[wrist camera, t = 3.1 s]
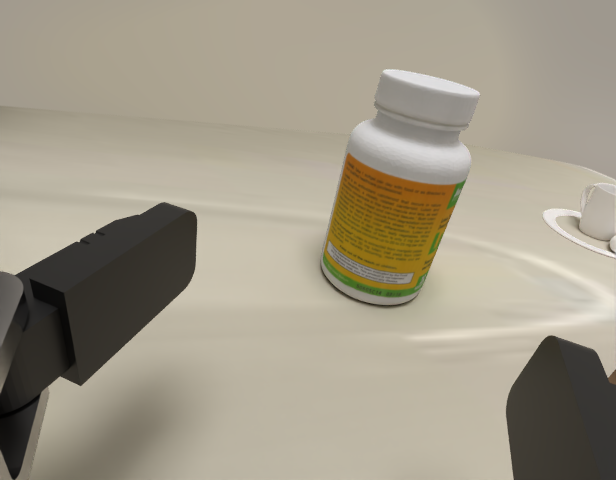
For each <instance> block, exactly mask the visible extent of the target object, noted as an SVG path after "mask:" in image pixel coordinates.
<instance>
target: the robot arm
mask: <svg viewBox="0 0 616 480" xmlns="http://www.w3.org/2000/svg"><path fill="white" fill-rule="evenodd" d="M196 237H197V217H196V215H195V213H194V212H192V211H189V210H186V209H183V208H180V207H177V206H174V205H171V204H169V203H165V202H163V203H160V204H158V205H156V206H154V207H153V208H151V209H149V210H147V211H146V212H144V213H142V214H140V215H134V216H130V217H127V218H123V219H119V220H115V221H113V222H111V223H109V224H108V225H106V226H104V227H102V228H100V229H98V230H97V231H96V233H95V234H94V233H91V234H89V235H88V236H86V237H84V238H82V239H81V240H80V242H75V243H73V244H71V245H69V246H67V247H66V248H64V249H62V250H60V251H58V252H56V253H55V254H53V255H51V256H49V257H47V258H45V259H44V260H42V261H40V262H38V263H36V264H34V265H33V266H31V267H29V268H27V269H25V270H24V271H22V272H20V273H18V274H16V275H12V274H9V273H6V272H1V271H0V480H29V476H30V472H31V468H32V464H33V460H34V455H35V451H36V447H37V443H38V439H39V435H40V431H41V427H42V423H43V419H44V414H45V410H46V406H47V402H48V398H49V388H48V386H49V385H50V384H51V383H53V382H54V381H55V380H56V379H57V378H58V377H60V376H61V377H63V378H65V379H67V380H69V381H71V382H73V383H76V384H78V385H80V386H81V385H83V384H84V383H85V382H86V381H87V380H88V379H89V378H90V377H91V376H92V375H93V374H94V373H95V372H96V371H98V370H99V369H100V368H101V367H102V366H103V365H104V364H105V363H106V362H107V361H108V360H109V359H110V358H111V357H113V356H114V355H115V354H116V353H117V352H118V351H119V350H120V349H121V348H122V347H123V346H124V345H125V344H126V343H128V342H129V341H130V340H131V339H132V338H133V337H134V336H135V335H136V334H137V333H138V332H139V331H140V330H141V329H143V328H144V327H145V326H146V325H147V324H148V323H149V322H150V321H151V320H152V319H153V318H154V317H155V316H156V315H158V314H159V313H160V312H161V311H162V310H163V309H164V308H165V307H166V306H167V305H168V304H169V303H170V302H171V301H173V300H174V299H175V298H176V297H177V296H178V295H179V294H180V293H181V292H182V291H183V290H184V289H185V288H186V287H187V286H188V284H189V283H190V281H191V279H192V277H193V274H194V271H195V264H196ZM506 418H507V426H508V435H509V443H510V452H511V460H512V469H513V477H514V480H616V385H615V384H612V383H610V382H609V380H608V378H607V375H606V373H605V371H604V368H603V366H602V363H601V361H600V359H599V356H598V354H597V353H596V352H595V351H594V350H593V349H590V348H587V347H585V346H582V345H579V344H576V343H573V342H570V341H567V340H564V339H561V338H558V337H555V336H548V337H546V338H545V339H544V340H543V341H542V342H541V344H540V345H539V347H538V348H537V350H536V351H535V353H534V354H533V356H532V357H531V359H530V360H529V362H528V363H527V365H526V366H525V368H524V369H523V371H522V372H521V374H520V375H519V377H518V378H517V380H516V381H515V383H514V384H513V386H512V388H511V390H510V393H509V396H508V400H507V406H506Z"/></svg>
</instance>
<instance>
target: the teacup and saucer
mask: <svg viewBox="0 0 616 480" xmlns="http://www.w3.org/2000/svg"><path fill="white" fill-rule="evenodd" d="M593 187H595V189H594V191H593V193H592V195H591V197H590V198H589V200H588V202H587V197H588V194H589V192H590V190H591V189H592V188H593ZM586 202H587V204H586ZM562 215H567V216H575V217H580V218H581V219H580V223H579V229H580V230H581V231H582V232H583V233H585V234H586V235H588V236H590V237H593V238H595V239H599V240H603V241H608V240H610V239H611V240H610V248H611V249H612V251H613V252H615V253H613V252H609V251H605V250H602V249H599V248H596V247H594V246H591V245H589V244H587V243H584V242H582V241H580V240H578V239H576V238H574V237H573V236H571V235H569V234H568V233H566V232H565V231H564V230H562V229H561V228H560V227H559V226H558V225H557V223H556V221H555V219H556V217H558V216H562ZM542 217H543V219H544V221H545V222H546V223H547V225H548V226H550V227H551V228H552V229H553V230H554V231H556V232H557V233H559V234H560V235H562V236H563V237H565V238H567V239H568V240H570V241H572V242H574V243H576V244H578V245H580V246H582V247H585V248H587V249H589V250H592V251H594V252H597V253H599V254H602V255H605V256H608V257H612V258H615V259H616V185H612V184H607V183H598V184H591V185H588V186H587V187H585V189H584V190H583V193H582V197H581V212H577V211H572V210H566V209H548V210H546V211H544V212H543V214H542Z"/></svg>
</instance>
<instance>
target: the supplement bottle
mask: <svg viewBox="0 0 616 480" xmlns="http://www.w3.org/2000/svg"><path fill="white" fill-rule="evenodd" d="M479 97H480V93H479V92H478V91H476V90H474V89H472V88H469V87H466V86H464V85H461V84H458V83H455V82H452V81H448V80H444V79H441V78H437V77H432V76H428V75H424V74H419V73H413V72H408V71H401V70H392V69H391V70H384V71H383V72H382V74H381V77H380V81H379V84H378V88H377V91H376V94H375V100H376V101H375V103H374V106H375V108H376V109H378V112H377V116H376V118H375V119H369V120H366V121H364V122H361V123H360V124H358V125H357V126H356V127H355V128H354V130H353V131H352V133H351V135H350V138H349V141H348V145H347V149H346V153H345V157H344V161H343V166H342V170H341V174H340V178H339V183H338V187H337V191H336V196H335V200H334V204H333V208H332V212H331V217H330V221H329V225H328V229H327V233H326V237H325V242H324V246H323V250H322V255H321V266H322V269H323V272H324V273H325V275H326V277H327V278H328V279H329V280H330V282H331V283H332V284H333V285H334V286H336V287H337V288H338V289H339V290H341V291H342V292H344V293H345V294H347V295H349V296H351V297H353V298H355V299H358V300H361V301H364V302H368V303H373V304H379V305H395V304H401V303H405V302H407V301H410V300H411V299H413V298H414V297H415V296H416V295H417V294H418V293H419V291H420V290H421V288H422V285H423V283H424V281H425V279H426V276H427V274H428V271H429V269H430V266H431V264H432V261H433V259H434V256H435V254H436V252H437V249H438V246H439V244H440V241H441V239H442V236H443V234H444V232H445V229H446V227H447V224H448V222H449V219H450V217H451V215H452V212H453V210H454V207H455V205H456V202H457V200H458V198H459V195H460V193H461V191H462V188H463V186H464V183H465V181H466V179H467V176H468V173H469V170H470V167H471V156H470V153H469V151H468V149H467V148H466V146H465V145H464V144H463V143H461V142H460V141H459V140H458V136H459V134H460V131H461V130H465V129H467V128H468V123H470V121H471V119H472V116H473V114H474V111H475V108H476V105H477V103H478V100H479Z"/></svg>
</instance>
